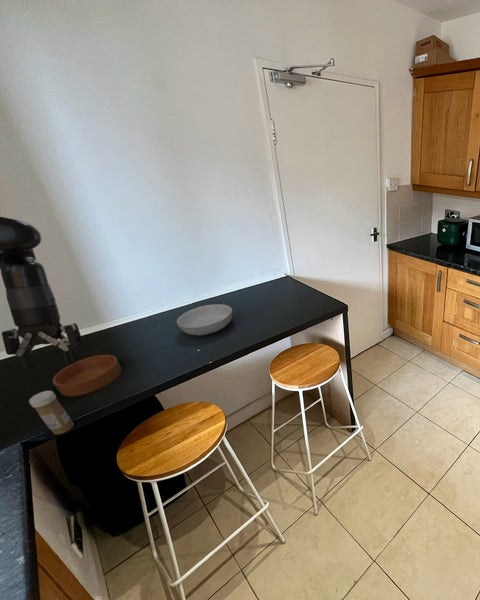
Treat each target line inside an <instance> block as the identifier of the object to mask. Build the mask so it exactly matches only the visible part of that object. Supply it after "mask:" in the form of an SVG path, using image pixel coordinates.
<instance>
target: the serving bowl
mask: <svg viewBox="0 0 480 600" xmlns="http://www.w3.org/2000/svg"><path fill="white" fill-rule="evenodd" d="M232 318H233V309H232V307H231V306H229V305H227V304H220V303H216V304H206V305H202V306H198V307H194V308H192V309H190V310H187V311H185V312H184V313H182V314H181V315H180V316H179V317H178V318H177V319H176V325H177V326H178V328H179V329H180V330H181V331H182V332H184V334H185V333H186V334H188V335H191V336H205V335H209V334H214V333H216V332H218V331H220V330H222V329H224V328H225V327H227V326H228V325H229V324H230V322H231V320H232Z"/></svg>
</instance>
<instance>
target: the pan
mask: <svg viewBox="0 0 480 600" xmlns="http://www.w3.org/2000/svg"><path fill="white" fill-rule="evenodd" d="M122 371H123V368H122V365H120V362H119V360H118V359H117V357H116V356H115V355H112V354H101V355H100V354H99V355H93V356H90V357H85V358H82V359H80V360H77V361H76V362H75V363H74V364H72V365H66V366H65V367H64V368H62V369H61V370H59V371H58V372H57V373H56V374H55V375H54V376H53V379H52V384H53V385H54V388H55V389H56V390H57V391H58V392H59V394H60V395H62V396H64V397H78V396H83V395H87V394H90V393H93V392H95V391H98V390H101V389H102V388H105V387H106V386H108V385H110V384H111V383H112V382H114V381H115V380H117V379H118V378H119V376H120V375H121V374H122Z"/></svg>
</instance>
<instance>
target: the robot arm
mask: <svg viewBox="0 0 480 600" xmlns="http://www.w3.org/2000/svg"><path fill="white" fill-rule="evenodd" d="M42 238H43V237H42V235H41V232H40V231H39V230H38V229H37V228H36V227H35V226H34V225H33V224H31V223H28V222H26V221H22V220H19V219H15V218H10V217H6V216H5V217H3V216H0V275H1V278H2V282H3V285H4V289H5V294H6V301H7V303H8V307H9V310H10V314H11V317H12V321H13V324H14V326H15V327H17V329H16V328H12V329H8V330H4V331H1V337H2V340H3V341H2V342H3V345H4V349H5V353H6V355H9V356H11V355H14V356H17V357H18V358H19V362H20V365H21V367H22V369H24V370H25V371H29V370H32V369H34V368H36V366H37V364H36V361H35V359H34V358H35V357H34V355H33V353H32V351H33V349H34V347H36V346H39V345H50V344H51V345H52V346H54V347H58V348H59V349H61V350H62V354H63V359H64V362H65V365H66V366H69V365H72V364H74V363H75V362H77V361H78V356H77V353H76V348H78V347H80V346H83V345H84V341H83V338H82V334H81V332H80V330H79V326H78V324H77V323H70V324H66V325H62V323H61V315H60V312H59V308H58V305H57V300H56V297H55V294H54V291H53V289H52V287H51V284H50V281H49V277H48V274H47V270H46V268H45V266H44V264H43V263H42V262H40V261H38V259H37V257H36V256H37V255H36V254H35V251H34V249H35V248H37V247H38V246H39V245H40V244H41V242H42ZM65 334H66V335H65ZM20 337H21V338H22V340H20ZM20 341H21V342H20Z"/></svg>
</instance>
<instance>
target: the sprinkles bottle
mask: <svg viewBox="0 0 480 600" xmlns="http://www.w3.org/2000/svg"><path fill="white" fill-rule="evenodd" d="M28 403H29V404H30V405H31V407H32V408H33V409H35V412H37V413H38V415H39V417H40V418H41V420H42V421H43V423H44V424H45V425H46V426H47V428H48V429H49V430H50V431H51V432H52V433H53V435H61V434H64V433H67V432H68V431H70V430H71V429H72V428H73V427H74V425H75V423H74V421H73V420H72V419H71V417H70V415H69V414H68V413H67V411H66V409H64V407H63V406H62V404H61V403H60V401H59V400H58V398H57V396H56V394H55V392H54V391H53V390H44V391H41V392H38V393H36V394H34V395H33V396H32V397H30V399H29V400H28Z"/></svg>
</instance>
